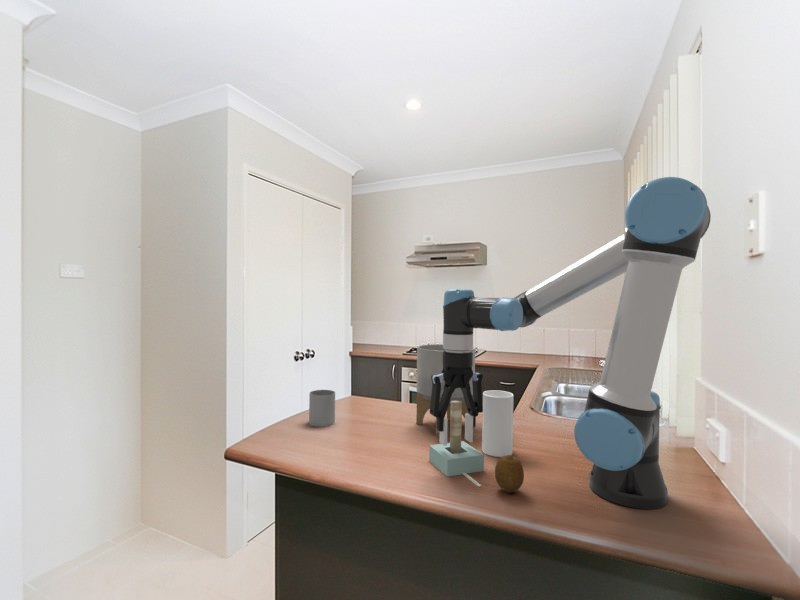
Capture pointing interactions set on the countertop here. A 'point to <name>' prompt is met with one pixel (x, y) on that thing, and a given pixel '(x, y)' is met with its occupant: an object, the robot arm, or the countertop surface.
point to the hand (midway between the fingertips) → (456, 441)
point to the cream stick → (472, 479)
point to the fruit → (509, 473)
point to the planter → (426, 367)
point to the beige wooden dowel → (455, 427)
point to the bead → (456, 459)
